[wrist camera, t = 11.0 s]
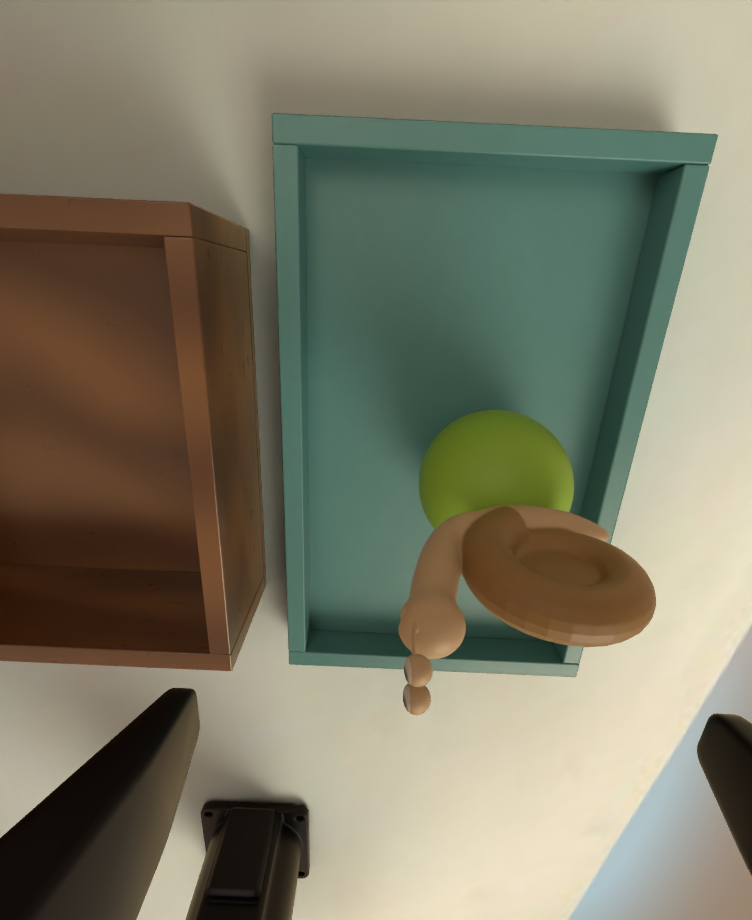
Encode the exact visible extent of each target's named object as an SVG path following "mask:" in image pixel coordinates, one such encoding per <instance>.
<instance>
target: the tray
mask: <svg viewBox="0 0 752 920" xmlns="http://www.w3.org/2000/svg"><path fill="white" fill-rule="evenodd" d="M717 137H718V135H717V134H702V133H681V132H660V131H639V130H618V129H597V128H576V127H555V126H534V125H513V124H492V123H471V122H450V121H429V120H408V119H387V118H366V117H345V116H324V115H303V114H282V113H273V114H272V142H273V177H274V208H275V240H276V271H277V302H278V334H279V365H280V397H281V428H282V459H283V491H284V522H285V553H286V585H287V616H288V648H289V664H295V665H318V666H340V667H362V668H385V669H404V664H405V660H406V659H407V658H408V657H409V656H410V655H412V653H411V651H410V650H409V649H408V648H407V647H406V646H405V644H404V643H403V642H402V640H401V638H400V635H399V630H398V628H399V624H400V622H401V617H400V615H401V610H402V608H403V606H404V604H405V603H406V602H407V601H408V599H409V597H410V590H411V583H412V579H413V575H414V572H415V569H416V565H417V562H418V559H419V556H420V553H421V551H422V548H423V546H424V544H425V543H426V541H427V539H428V538H429V536H430V535H431V534H432V533H433V531H434V528H433V527H432V525H431V524H430V522H429V521H428V519H427V517H426V515H425V512H424V510H423V507H422V504H421V500H420V494H419V473H420V468H421V464H422V461H423V458H424V456H425V453H426V451H427V449H428V448H429V446H430V444H431V443H432V441H433V440H434V439H435V437H436V436H437V435H438V434H439V433H440V432H441V431H442V430H443V429H444V428H445V427H447V426H448V425H449V424H451V423H452V422H454V421H456V420H457V419H459V418H461V417H463V416H466V415H468V414H471V413H475V412H479V411H485V410H506V411H512V412H516V413H519V414H522V415H525V416H527V417H530V418H532V419H534V420H535V421H537V422H539V423H540V424H542V425H543V426H544V427H546V428H547V429H548V430H549V431H550V432H551V433H552V434H553V435H554V436H555V437H556V438H557V439H558V441H559V442H560V443H561V445H562V446H563V448H564V450H565V452H566V454H567V456H568V458H569V461H570V464H571V467H572V471H573V478H574V494H573V501H572V505H571V508H570V511H569V512H570V513H573V514H576V515H578V516H581V517H583V518H585V519H587V520H590V521H592V522H594V523H595V524H597V525H599V526H601V527H602V528H604V529H605V530H606V531H607V532H608V533H609V536H610V538H609V540H608V541H606V542H607V543H609V544H611V540H612V536H613V533H614V529H615V525H616V521H617V517H618V514H619V510H620V506H621V502H622V498H623V494H624V491H625V487H626V483H627V479H628V475H629V472H630V468H631V464H632V460H633V456H634V453H635V449H636V445H637V441H638V437H639V433H640V430H641V426H642V422H643V418H644V414H645V411H646V407H647V403H648V399H649V395H650V392H651V388H652V384H653V380H654V376H655V372H656V369H657V365H658V361H659V357H660V353H661V350H662V346H663V342H664V338H665V334H666V330H667V327H668V323H669V319H670V315H671V311H672V308H673V304H674V300H675V296H676V292H677V289H678V285H679V281H680V277H681V273H682V269H683V266H684V262H685V258H686V254H687V250H688V247H689V243H690V239H691V235H692V231H693V228H694V224H695V220H696V216H697V212H698V208H699V205H700V201H701V197H702V193H703V189H704V186H705V182H706V178H707V174H708V170H709V166H708V164H710V163H711V160H712V156H713V152H714V148H715V145H716V141H717ZM456 603H457V605H458V606H459V608H460V609H461V611H462V613H463V615H464V618H465V623H466V631H465V636H464V639H463V641H462V643H461V644H460V646H459V647H458V648H457V649H456V650H455V651H454V652H453V653H451V654H450V655H448V656H446V657H443V658H439V659H428V660H429V661H430V663H431V665H432V670H433V671H452V672H474V673H497V674H519V675H541V676H564V677H576V675H577V671H578V667H579V662H580V658H581V655H582V651H583V647H580V646H569V645H563V644H558V643H554V642H549V641H545V640H543V639H540V638H537V637H534V636H531V635H528V634H526V633H524V632H522V631H520V630H518V629H516V628H514V627H512V626H510V625H508V624H506V623H505V622H503V621H502V620H500V619H499V618H497V617H496V616H494V615H493V614H492V613H491V612H489V611H488V610H487V609H486V608H485V607H484V606H483V605H482V604H481V603H480V602H479V601H478V600H477V598H476V597H475V596H474V594H473V593H472V592H471V590H470V589H469V587H468V585H467V583H466V581H465V579H464V577H463V576H462V575H461V576H460V580H459V585H458V591H457V598H456Z"/></svg>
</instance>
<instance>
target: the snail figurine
mask: <svg viewBox="0 0 752 920" xmlns="http://www.w3.org/2000/svg"><path fill="white" fill-rule="evenodd" d="M419 494H420V500H421V504H422V507H423V510H424V512H425V515H426V517H427V519H428V521H429V522H430V524H431V525H432V527H433V528H434V531H433V533H432V534H431V535H430V536H429V538H428V539H427V541H426V543H425V544H424V546H423V548H422V551H421V553H420V556H419V559H418V562H417V565H416V569H415V572H414V575H413V579H412V583H411V590H410V597H409V599H408V601H407V602H406V603H405V604H404V606H403V608H402V610H401V615H400V617H401V622H400V624H399V628H398V630H399V635H400V638H401V640H402V642H403V643H404V644H405V646H406V647H407V648H408V649H409V650H410V651H411V653H412V655H410V656H409V657H408V658H407V659H406V660H405V664H404V673H405V677H406V680H407V682H408V683H409V684H407V685H406V686H405V688H404V691H403V702H404V705H405V708H406V710H407V711H408V712H410V713H411V714H413V715H420V714H423V713H424V712H425V711H426V710H427V709H428V708H429V705H430V701H431V697H430V693H429V690H428V689H427V687H426V686H425V685H426V684H427V683H428V682H429V681H430V679H431V677H432V672H433V670H432V665H431V663H430V661H429V660H428V659H439V658H443V657H446V656H448V655H450V654H451V653H453V652H454V651H455V650H456V649H457V648H458V647H459V646H460V644H461V643H462V641H463V639H464V636H465V631H466V623H465V618H464V615H463V613H462V611H461V609H460V608H459V606H458V605H457V603H456V598H457V591H458V585H459V580H460V576H461V575H462V576H463V577H464V579H465V581H466V583H467V585H468V587H469V589H470V590H471V592H472V593H473V594H474V596H475V597H476V598H477V600H478V601H479V602H480V603H481V604H482V605H483V606H484V607H485V608H486V609H487V610H488V611H489V612H491V613H492V614H493V615H494V616H496V617H497V618H499V619H500V620H502V621H503V622H505V623H506V624H508V625H510V626H512V627H514V628H516V629H518V630H520V631H522V632H524V633H526V634H528V635H531V636H534V637H537V638H540V639H543V640H545V641H549V642H554V643H558V644H563V645H569V646H580V647H596V646H607V645H612V644H616V643H620V642H623V641H625V640H627V639H629V638H631V637H633V636H635V635H637V634H639V633H640V632H641V631H642V630H643V629H644V628H645V627H646V626H647V625H648V623H649V622H650V620H651V619H652V617H653V614H654V611H655V607H656V597H655V590H654V587H653V584H652V582H651V580H650V578H649V577H648V575H647V573H646V572H645V570H644V569H643V568H642V567H641V566H640V565H639V564H638V563H637V562H636V561H635V560H634V559H633V558H632V557H630V556H629V555H628V554H626V553H625V552H623V551H622V550H620V549H618V548H617V547H615V546H613V545H611V544H609V543H607V542H606V541H608V540H609V538H610V536H609V533H608V532H607V531H606V530H605V529H604V528H602V527H601V526H599V525H597V524H595V523H594V522H592V521H590V520H587V519H585V518H583V517H581V516H578V515H576V514H573V513H570V512H569V511H570V508H571V505H572V501H573V494H574V478H573V471H572V467H571V464H570V461H569V458H568V456H567V454H566V452H565V450H564V448H563V446H562V445H561V443H560V442H559V441H558V439H557V438H556V437H555V436H554V435H553V434H552V433H551V432H550V431H549V430H548V429H547V428H546V427H544V426H543V425H542V424H540V423H539V422H537V421H535V420H534V419H532V418H530V417H527V416H525V415H522V414H519V413H516V412H512V411H506V410H485V411H479V412H475V413H471V414H468V415H466V416H463V417H461V418H459V419H457V420H456V421H454V422H452V423H451V424H449V425H448V426H447V427H445V428H444V429H443V430H442V431H441V432H440V433H439V434H438V435H437V436H436V437H435V439H434V440H433V441H432V443H431V444H430V446H429V448H428V449H427V451H426V453H425V456H424V458H423V461H422V464H421V468H420V473H419Z"/></svg>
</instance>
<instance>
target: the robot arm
mask: <svg viewBox="0 0 752 920" xmlns="http://www.w3.org/2000/svg"><path fill="white" fill-rule="evenodd" d="M199 728H200V721H199V712H198V704H197V696H196V692H195V691H194V690H193V689H187V688H172V689H169V690H168V691H166V692H165V693H164V694H163V695H162V696H161V697H159V698H158V699H157V700H156V701H155V702H154V703H153V704H152V705H150V706H149V707H148V708H147V709H146V710H145V711H144V712H142V713H141V714H140V715H139V716H138V717H137V718H136V719H135V720H133V721H132V722H131V723H130V724H129V725H128V726H127V727H125V728H124V729H123V730H122V731H121V732H120V733H119V734H118V735H116V736H115V737H114V738H113V739H112V740H111V741H110V742H109V743H107V744H106V745H105V746H104V747H103V748H102V749H101V750H99V751H98V752H97V753H96V754H95V755H94V756H93V757H92V758H90V759H89V760H88V761H87V762H86V763H85V764H84V765H82V766H81V767H80V768H79V769H78V770H77V771H76V772H75V773H73V774H72V775H71V776H70V777H69V778H68V779H67V780H66V781H64V782H63V783H62V784H61V785H60V786H59V787H58V788H56V789H55V790H54V791H53V792H52V793H51V794H50V795H49V796H47V797H46V798H45V799H44V800H43V801H42V802H41V803H39V804H38V805H37V806H36V807H35V808H34V809H33V810H32V811H30V812H29V813H28V814H27V815H26V816H25V817H24V818H22V819H21V820H20V821H19V822H18V823H17V824H16V825H15V826H13V827H12V828H11V829H10V830H9V831H8V832H7V833H6V834H4V835H3V836H2V837H1V838H0V920H136V919H137V916H138V914H139V911H140V909H141V906H142V904H143V901H144V899H145V896H146V893H147V891H148V888H149V886H150V883H151V881H152V878H153V876H154V873H155V871H156V868H157V866H158V863H159V861H160V858H161V855H162V853H163V850H164V847H165V845H166V842H167V839H168V836H169V833H170V830H171V826H172V823H173V820H174V816H175V813H176V810H177V806H178V803H179V800H180V796H181V793H182V789H183V786H184V783H185V779H186V776H187V773H188V769H189V766H190V762H191V759H192V756H193V752H194V749H195V746H196V742H197V739H198V735H199ZM697 754H698V759H699V762H700V764H701V767H702V769H703V771H704V773H705V776H706V778H707V780H708V782H709V784H710V787H711V789H712V791H713V793H714V796H715V798H716V800H717V802H718V805H719V807H720V809H721V811H722V813H723V816H724V818H725V820H726V822H727V825H728V827H729V829H730V831H731V833H732V836H733V838H734V840H735V842H736V845H737V847H738V849H739V851H740V853H741V855H742V857H743V860H744V862H745V864H746V866H747V868H748V870H749V872H750V874H751V876H752V724H751V723H750V722H748V721H747V720H745V719H744V718H742V717H740V716H738V715H733V714H713V715H711V716H710V717H709V719H708V721H707V723H706V726H705V728H704V731H703V733H702V736H701V738H700V740H699V743H698V746H697ZM201 819H202V826H203V833H204V840H205V847H206V856H205V859H204V863H203V866H202V869H201V872H200V875H199V879H198V882H197V885H196V888H195V891H194V895H193V898H192V901H191V904H190V907H189V910H188V914H187V917H186V920H292V913H293V906H294V899H295V892H296V886H297V879H298V878H306V877H307V876H308V875H309V868H310V856H309V810H308V809H307V808H306V807H304V806H292V805H270V804H247V803H224V802H207V803H205V804H204V805H203V808H202V811H201Z"/></svg>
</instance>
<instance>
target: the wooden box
mask: <svg viewBox="0 0 752 920" xmlns="http://www.w3.org/2000/svg"><path fill="white" fill-rule="evenodd" d="M265 586H266V566H265V547H264V527H263V507H262V487H261V468H260V448H259V428H258V409H257V389H256V369H255V349H254V330H253V310H252V290H251V271H250V251H249V231H248V229H246V228H244V227H242V226H240V225H237V224H235V223H233V222H231V221H228V220H226V219H224V218H222V217H220V216H217V215H215V214H213V213H211V212H209V211H206V210H204V209H202V208H200V207H198V206H195V205H193V204H191V203H189V202H168V201H147V200H126V199H104V198H83V197H62V196H41V195H19V194H0V661H17V662H39V663H62V664H84V665H106V666H129V667H151V668H173V669H196V670H218V671H232V670H233V667H234V665H235V662H236V659H237V657H238V654H239V652H240V649H241V647H242V644H243V642H244V639H245V637H246V634H247V632H248V629H249V627H250V624H251V622H252V619H253V617H254V614H255V612H256V609H257V606H258V604H259V601H260V599H261V596H262V594H263V591H264V589H265Z"/></svg>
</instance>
